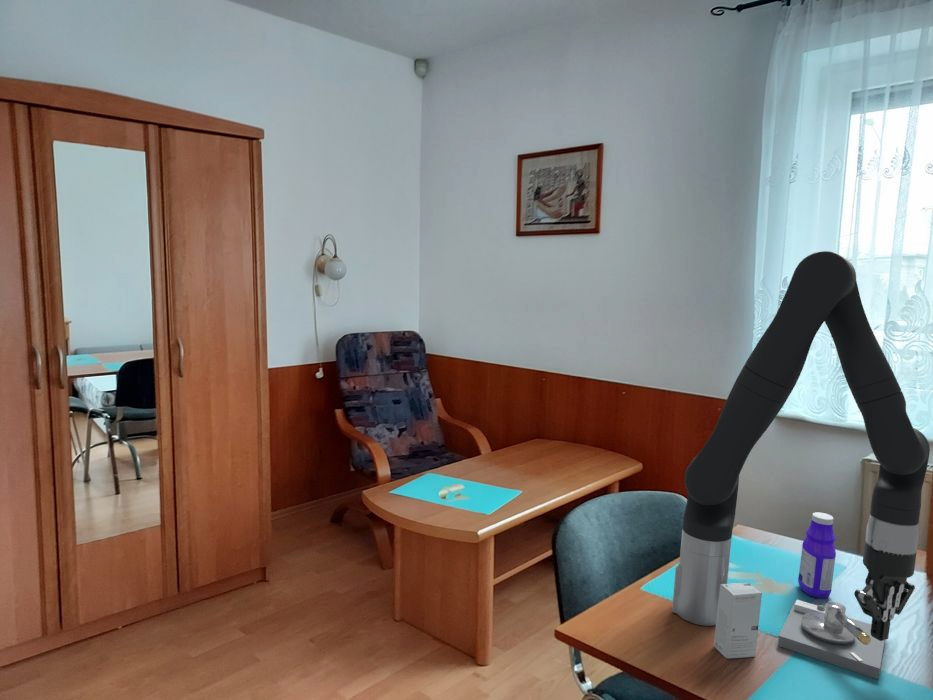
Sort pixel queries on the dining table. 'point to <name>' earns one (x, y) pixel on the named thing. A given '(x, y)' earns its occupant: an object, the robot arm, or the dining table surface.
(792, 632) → the switch base
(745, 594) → the skincare box
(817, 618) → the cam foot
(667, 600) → the dining table surface
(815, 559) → the bottle
